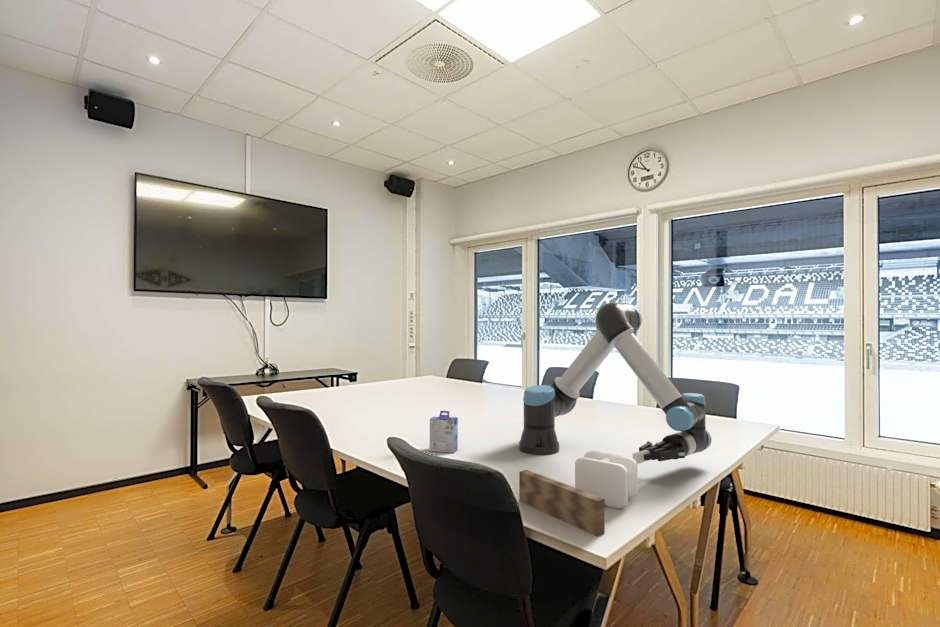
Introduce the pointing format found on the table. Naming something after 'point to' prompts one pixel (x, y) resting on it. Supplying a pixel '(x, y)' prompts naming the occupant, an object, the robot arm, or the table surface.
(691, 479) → the table surface
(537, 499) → the walnut board
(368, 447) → the table surface
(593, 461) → the tooth protector case
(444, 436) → the ink cartridge box
